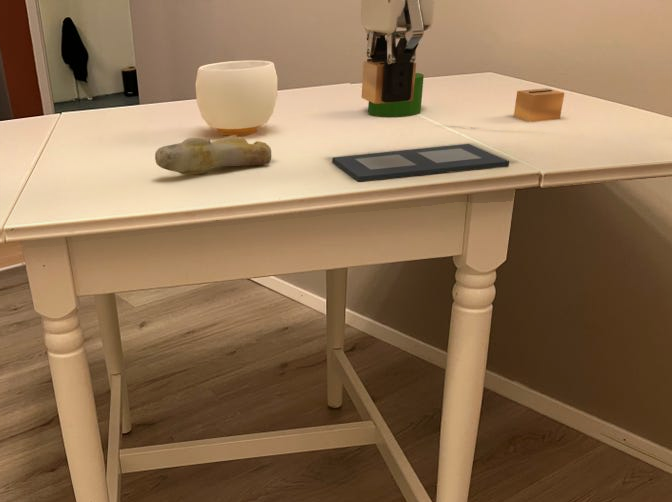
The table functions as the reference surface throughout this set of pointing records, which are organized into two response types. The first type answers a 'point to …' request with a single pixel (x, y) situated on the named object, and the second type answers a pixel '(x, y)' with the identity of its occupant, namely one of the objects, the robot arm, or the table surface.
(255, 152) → the figurine
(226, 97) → the cup
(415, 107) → the candle
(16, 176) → the table surface
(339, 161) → the word mat
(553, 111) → the tile
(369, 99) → the tile
